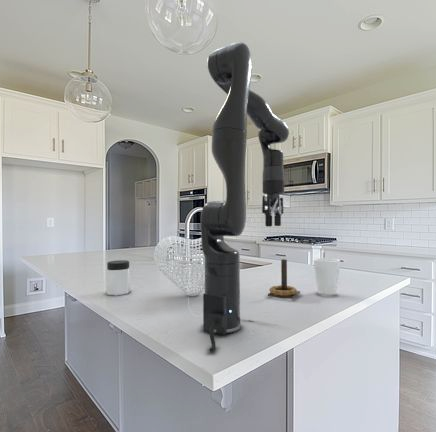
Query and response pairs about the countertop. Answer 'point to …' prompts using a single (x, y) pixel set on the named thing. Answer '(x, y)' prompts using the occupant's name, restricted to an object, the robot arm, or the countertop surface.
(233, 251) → the robot arm
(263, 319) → the countertop surface
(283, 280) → the post
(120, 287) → the jar
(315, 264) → the foam cup
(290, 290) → the ring
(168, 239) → the heart
